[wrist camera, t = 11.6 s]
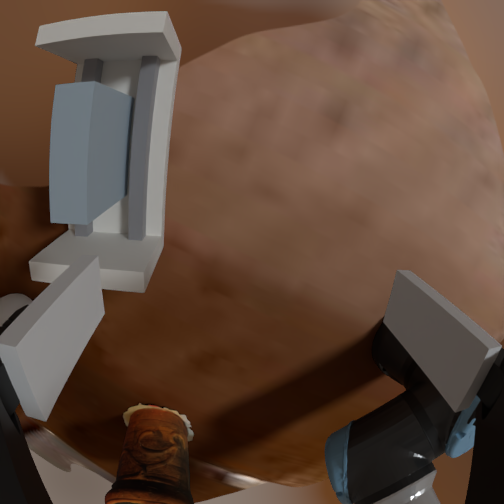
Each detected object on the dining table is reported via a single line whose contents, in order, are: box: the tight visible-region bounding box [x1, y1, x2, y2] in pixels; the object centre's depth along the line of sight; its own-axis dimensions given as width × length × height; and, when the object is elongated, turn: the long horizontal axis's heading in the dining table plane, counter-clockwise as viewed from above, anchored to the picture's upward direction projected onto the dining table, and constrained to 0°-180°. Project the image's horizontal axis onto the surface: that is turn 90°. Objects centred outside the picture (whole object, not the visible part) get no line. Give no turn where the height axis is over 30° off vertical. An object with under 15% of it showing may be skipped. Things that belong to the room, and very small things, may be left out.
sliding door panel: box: [49, 81, 134, 225], centre depth 25 cm, size 11×4×12 cm, turn 173°
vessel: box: [105, 403, 194, 504], centre depth 40 cm, size 14×14×20 cm
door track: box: [29, 11, 182, 293], centre depth 27 cm, size 24×12×12 cm, turn 173°
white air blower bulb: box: [0, 293, 33, 326], centre depth 30 cm, size 8×8×18 cm
